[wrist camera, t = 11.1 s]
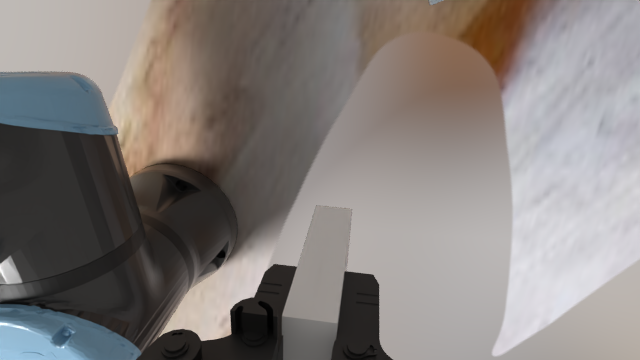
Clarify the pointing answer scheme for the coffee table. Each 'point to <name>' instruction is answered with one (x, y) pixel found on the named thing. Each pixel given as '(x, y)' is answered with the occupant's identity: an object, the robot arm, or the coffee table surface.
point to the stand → (434, 1)
